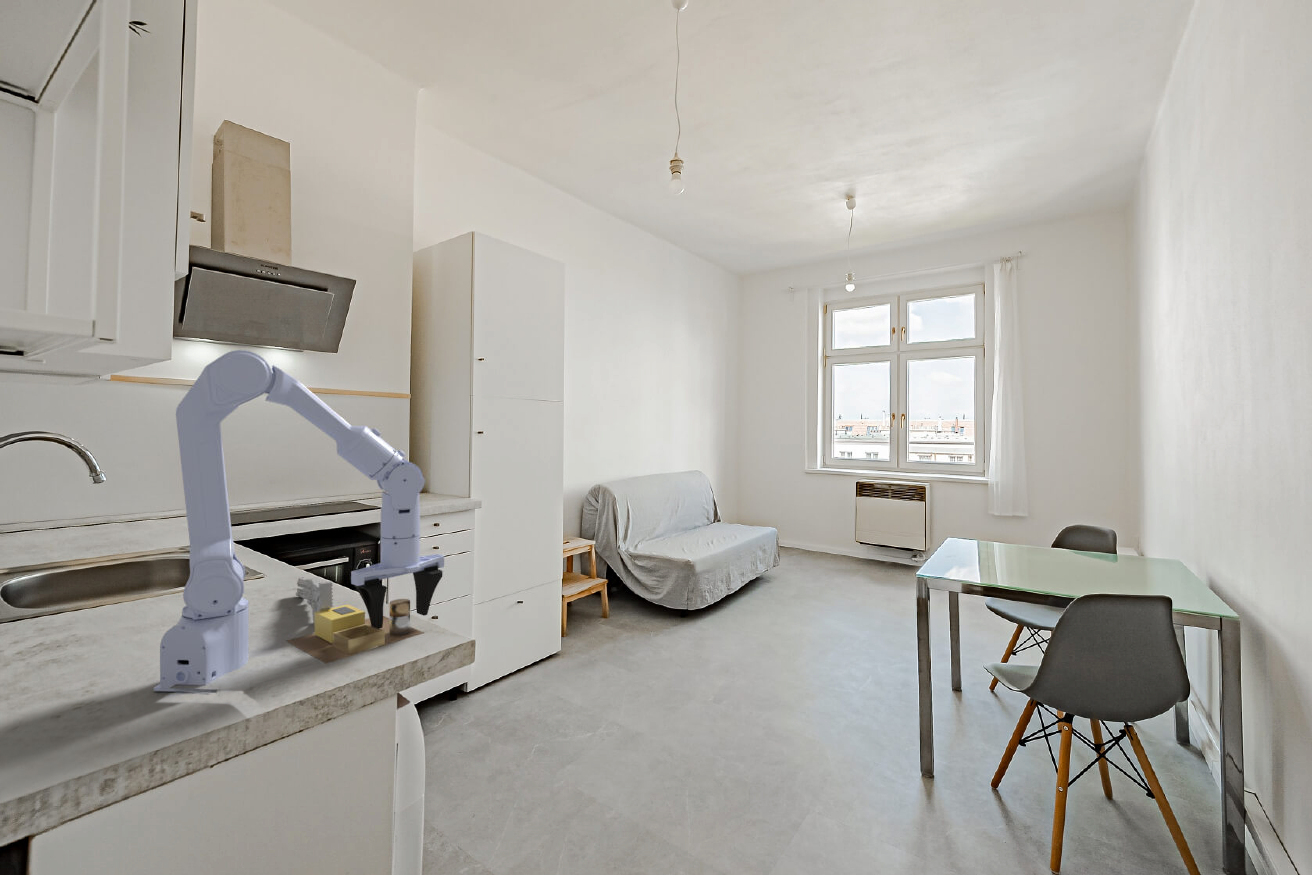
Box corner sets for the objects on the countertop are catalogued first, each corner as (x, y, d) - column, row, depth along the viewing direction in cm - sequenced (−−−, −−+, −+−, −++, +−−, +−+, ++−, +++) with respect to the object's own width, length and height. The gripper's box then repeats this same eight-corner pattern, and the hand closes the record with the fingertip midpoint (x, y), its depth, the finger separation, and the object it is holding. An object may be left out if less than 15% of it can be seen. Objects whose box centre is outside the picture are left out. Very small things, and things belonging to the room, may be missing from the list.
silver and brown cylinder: (404, 636, 90) (405, 604, 90) (385, 635, 90) (386, 604, 90) (413, 629, 93) (413, 598, 93) (394, 629, 93) (394, 598, 93)
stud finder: (331, 643, 87) (331, 619, 87) (314, 634, 90) (314, 611, 90) (364, 633, 91) (364, 610, 91) (347, 625, 94) (347, 603, 94)
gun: (320, 632, 89) (319, 581, 90) (295, 617, 112) (294, 576, 113) (334, 629, 90) (332, 579, 91) (306, 615, 114) (305, 575, 115)
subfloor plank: (325, 671, 80) (325, 648, 80) (285, 648, 88) (285, 627, 88) (424, 639, 92) (424, 620, 92) (381, 621, 100) (381, 603, 100)
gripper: (368, 546, 83) (367, 639, 84) (455, 531, 95) (454, 613, 95) (344, 540, 87) (344, 628, 88) (430, 526, 99) (430, 604, 100)
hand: (400, 620), depth 92 cm, fingers open, 7 cm apart
